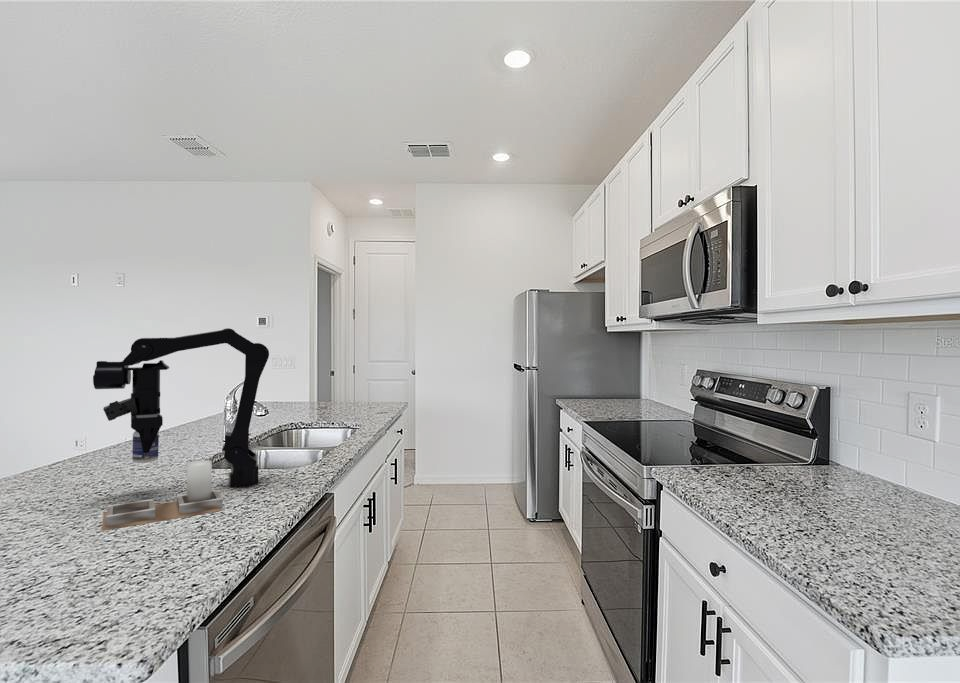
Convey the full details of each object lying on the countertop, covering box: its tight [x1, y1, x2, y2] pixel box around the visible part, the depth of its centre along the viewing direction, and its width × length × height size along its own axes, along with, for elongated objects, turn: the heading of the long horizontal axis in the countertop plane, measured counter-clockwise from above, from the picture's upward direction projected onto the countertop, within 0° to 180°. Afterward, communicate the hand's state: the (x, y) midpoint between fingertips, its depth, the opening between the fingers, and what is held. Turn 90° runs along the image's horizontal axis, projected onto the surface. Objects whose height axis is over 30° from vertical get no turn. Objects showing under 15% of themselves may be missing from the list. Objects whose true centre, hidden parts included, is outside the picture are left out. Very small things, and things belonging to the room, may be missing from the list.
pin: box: [186, 459, 213, 503], centre depth 117 cm, size 5×5×10 cm
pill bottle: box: [131, 430, 160, 464], centre depth 125 cm, size 5×5×10 cm
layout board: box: [100, 489, 223, 532], centre depth 113 cm, size 22×13×4 cm, turn 125°
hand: (145, 450), depth 125 cm, fingers closed on pill bottle, 5 cm apart
